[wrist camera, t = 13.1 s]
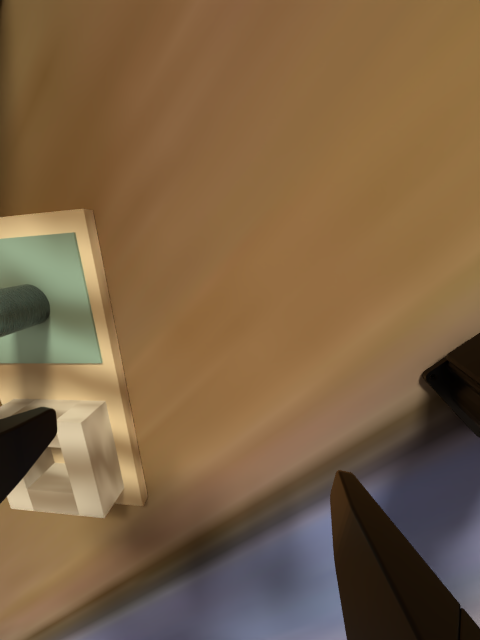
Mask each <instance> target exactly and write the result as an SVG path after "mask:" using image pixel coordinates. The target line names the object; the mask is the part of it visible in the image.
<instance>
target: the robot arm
mask: <svg viewBox="0 0 480 640" xmlns="http://www.w3.org/2000/svg"><path fill="white" fill-rule="evenodd" d="M432 374H435V376H434V377H433V378H430V376H431V375H432ZM423 378H424V379H425V380H426V381H427V382H428V384H429V385H430V386H431V387H432V388H433V389H434V390H435V391H436V392H437V393H438V394H439V395H440V397H441V398H442V399H443V400H444V401H445V402H446V403H447V404H448V405H449V406H450V407H451V408H452V410H453V411H454V412H455V413H456V414H457V415H458V416H459V417H460V418H461V419H462V420H463V421H464V422H465V424H466V425H467V426H468V427H469V428H470V429H471V430H472V431H473V432H474V433H475V434H476V435H477V436H478V437H480V333H479V334H477V335H476V336H474V337H473V338H471V339H470V340H468V341H467V342H465V343H464V344H462V345H461V346H459V347H458V348H456V349H455V350H453V351H452V352H450V353H449V354H448V355H447V356H446V357H445V358H443V359H442V360H440V361H439V362H437V363H436V364H434V365H433V366H431V367H430V368H428V369H427V370H425V371H424V373H423ZM56 434H57V416H56V411H55V409H53V408H48V407H38V408H35V409H32V410H28V411H25V412H22V413H19V414H16V415H12V416H9V417H6V418H3V419H0V503H1V502H2V501H3V500H4V499H5V498H6V497H7V496H8V495H9V494H10V492H11V491H12V490H13V489H14V488H15V487H16V486H17V485H18V484H19V482H20V481H21V480H22V479H23V478H24V476H25V475H26V474H27V473H28V471H29V470H30V469H31V467H32V466H33V465H34V464H35V462H36V461H37V460H38V458H39V457H40V456H41V455H42V453H43V452H44V451H45V450H46V448H47V447H48V446H49V444H50V443H51V442H52V441H53V439H54V438H55V436H56ZM330 504H331V519H332V535H333V550H334V561H335V569H336V575H337V581H338V587H339V593H340V600H341V606H342V612H343V618H344V624H345V630H346V636H347V640H480V628H479V627H478V626H477V624H476V623H475V622H474V621H473V620H472V618H471V617H470V616H469V615H468V613H467V612H466V611H465V610H464V609H463V608H461V609H460V604H459V603H458V601H457V600H456V599H455V598H454V596H453V595H452V594H451V593H450V592H449V590H448V589H447V588H446V587H445V585H444V584H443V583H442V582H441V581H440V579H439V578H438V577H437V576H436V574H435V573H434V572H433V571H432V570H431V568H430V567H429V566H428V565H427V563H426V562H425V561H424V560H423V559H422V557H421V556H420V555H419V554H418V552H417V551H416V550H415V549H414V548H413V546H412V545H411V544H410V543H409V541H408V540H407V539H406V538H405V537H404V535H403V534H402V533H401V532H400V530H399V529H398V528H397V527H396V526H395V524H394V523H393V522H392V521H391V519H390V518H389V517H388V516H387V515H386V513H385V512H384V511H383V510H382V508H381V507H380V506H379V505H378V504H377V502H376V501H375V500H374V499H373V497H372V496H371V495H370V494H369V493H368V491H367V490H366V489H365V488H364V486H363V485H362V484H361V483H360V482H359V480H358V479H357V478H356V477H355V475H354V474H352V473H351V472H346V471H342V470H338V471H337V472H336V475H335V478H334V482H333V486H332V489H331V494H330Z"/></svg>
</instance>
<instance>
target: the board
mask: <svg viewBox="0 0 480 640" xmlns="http://www.w3.org/2000/svg"><path fill="white" fill-rule="evenodd" d="M24 284H30V285H33V286H36V287H37V288H39V289H40V290H41V291H42V292H43V293H44V294H45V295H46V297H47V299H48V301H49V304H50V314H49V317H48V319H47V320H46V321H45V322H43V323H41V324H38V325H35V326H32V327H30V328H27V329H24V330H21V331H18V332H15V333H12V334H9V335H6V336H3V337H1V338H0V400H1V403H2V406H1V407H0V419H3V418H6V417H9V416H12V415H16V414H19V413H22V412H25V411H28V410H32V409H35V408H38V407H48V408H53V409H55V411H56V416H57V434H56V436H55V438H54V439H53V441H52V442H51V443H50V444H49V446H48V447H47V448H46V450H45V451H44V452H43V453H42V455H41V456H40V457H39V458H38V460H37V461H36V462H35V464H34V465H33V466H32V467H31V469H30V470H29V471H28V473H27V474H26V475H25V476H24V478H23V479H22V480H21V481H20V482H19V484H18V485H17V486H16V487H15V488H14V489H13V490H12V491H11V492H10V494H9V495H8V496H7V498H8V501H9V504H10V506H11V509H20V510H29V511H39V512H49V513H59V514H69V515H79V516H89V517H98V518H105V517H106V515H107V514H108V512H109V510H110V509H111V507H112V506H113V504H124V505H135V506H143V505H144V503H145V501H146V500H147V498H148V495H147V489H146V484H145V479H144V474H143V469H142V463H141V458H140V453H139V448H138V443H137V438H136V432H135V427H134V422H133V417H132V412H131V406H130V401H129V396H128V391H127V386H126V380H125V375H124V370H123V365H122V360H121V354H120V349H119V344H118V339H117V334H116V328H115V323H114V318H113V313H112V308H111V302H110V297H109V292H108V287H107V282H106V276H105V271H104V266H103V261H102V256H101V250H100V245H99V240H98V235H97V230H96V224H95V219H94V214H93V210H88V209H76V210H66V211H56V212H47V213H37V214H27V215H17V216H8V217H0V289H1V288H6V287H12V286H18V285H24Z"/></svg>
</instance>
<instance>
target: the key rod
mask: <svg viewBox="0 0 480 640" xmlns="http://www.w3.org/2000/svg"><path fill="white" fill-rule="evenodd" d="M49 314H50V304H49V301H48V299H47V297H46V295H45V294H44V293H43V292H42V291H41V290H40V289H39V288H37V287H36V286H33V285H30V284H24V285H18V286H12V287H6V288H1V289H0V338H1V337H3V336H6V335H9V334H12V333H15V332H18V331H21V330H24V329H27V328H30V327H32V326H35V325H38V324H41V323H43V322H45V321H46V320H47V319H48V317H49Z"/></svg>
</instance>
